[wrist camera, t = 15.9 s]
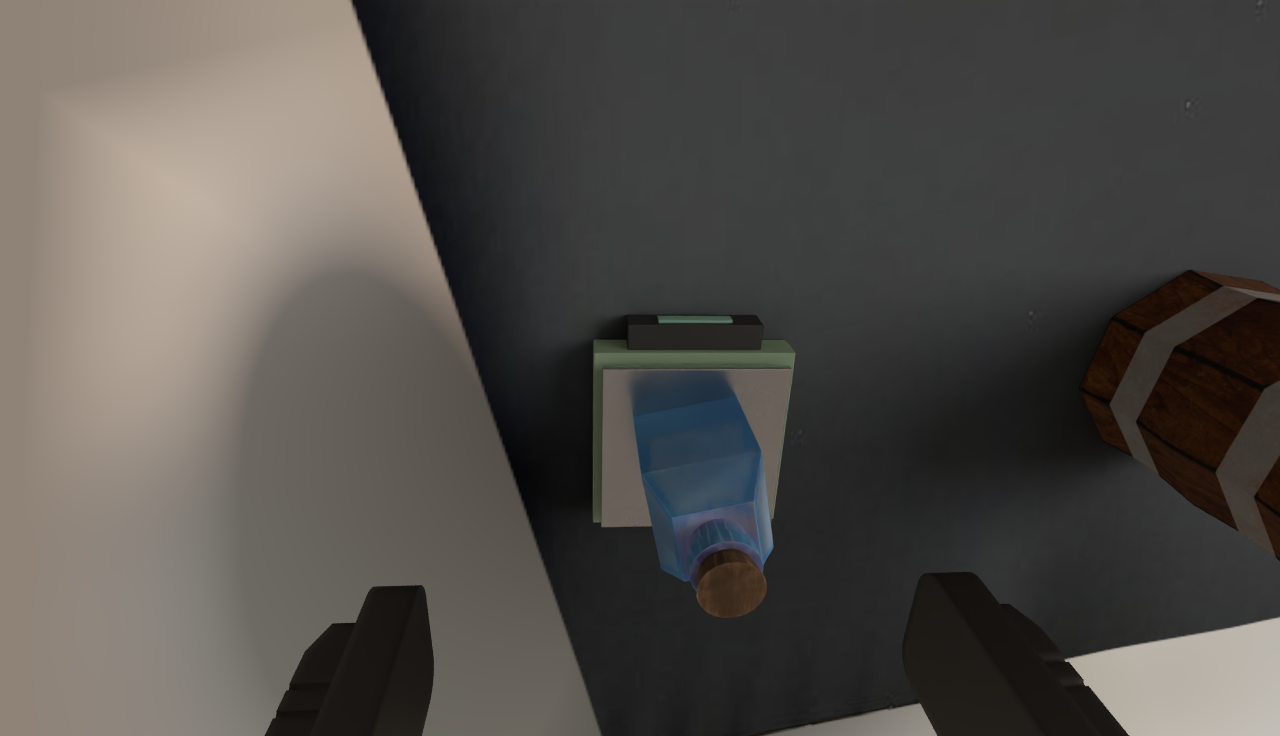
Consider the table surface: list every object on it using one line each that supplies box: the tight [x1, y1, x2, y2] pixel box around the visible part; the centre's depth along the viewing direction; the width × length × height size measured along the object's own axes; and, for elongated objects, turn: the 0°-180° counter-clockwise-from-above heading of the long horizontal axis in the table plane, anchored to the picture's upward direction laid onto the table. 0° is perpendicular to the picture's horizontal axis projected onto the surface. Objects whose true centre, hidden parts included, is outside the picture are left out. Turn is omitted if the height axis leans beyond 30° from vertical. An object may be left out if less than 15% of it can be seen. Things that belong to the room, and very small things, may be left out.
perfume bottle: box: [633, 396, 773, 618], centre depth 35 cm, size 6×6×12 cm
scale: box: [593, 315, 795, 522], centre depth 43 cm, size 12×14×2 cm
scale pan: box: [601, 365, 792, 527], centre depth 41 cm, size 11×11×1 cm
